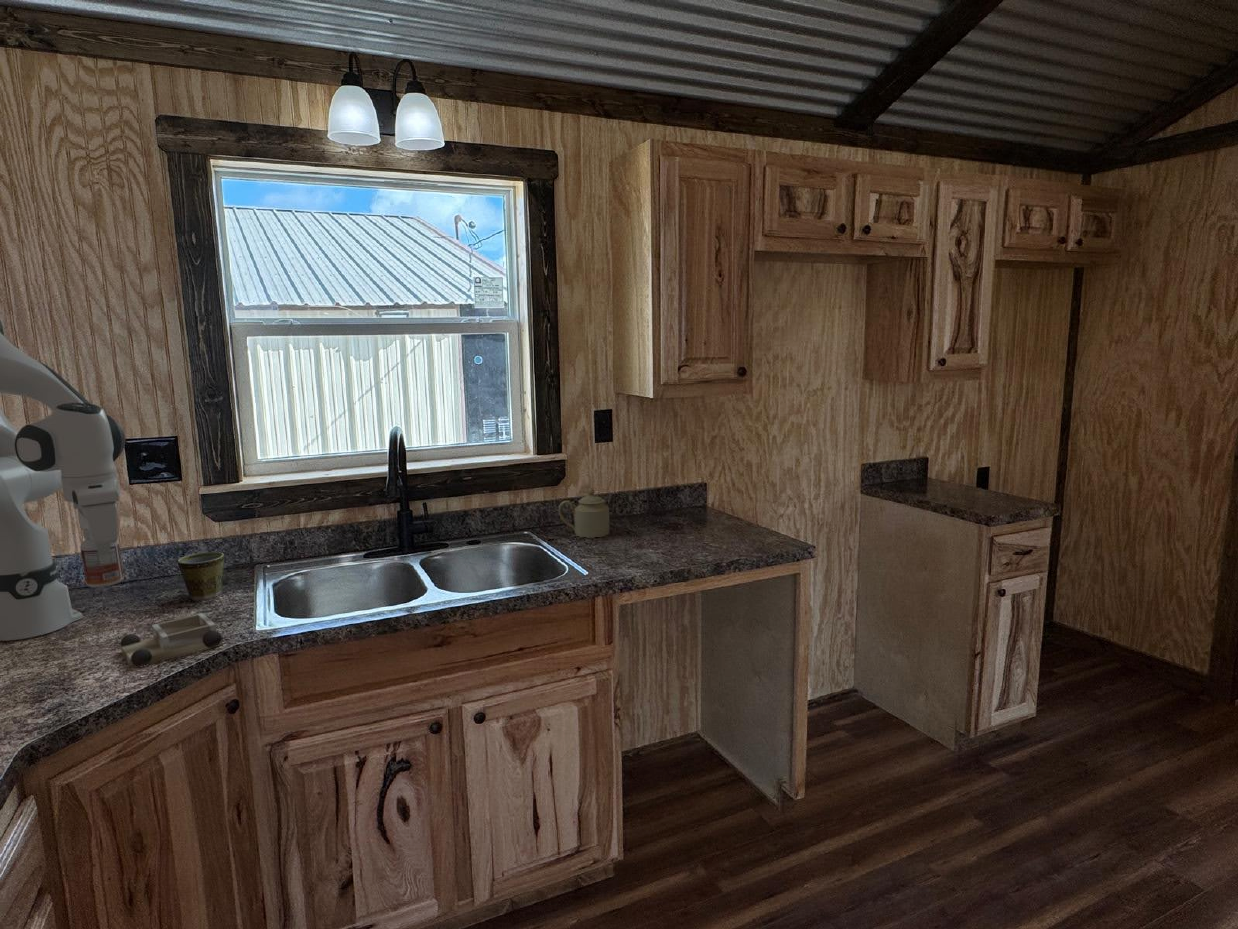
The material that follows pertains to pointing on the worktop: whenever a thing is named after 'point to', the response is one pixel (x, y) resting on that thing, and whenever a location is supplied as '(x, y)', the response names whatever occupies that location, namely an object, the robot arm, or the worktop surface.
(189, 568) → the ceramic cup
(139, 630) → the worktop surface
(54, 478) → the robot arm
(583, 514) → the sugar bowl
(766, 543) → the worktop surface
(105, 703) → the worktop surface
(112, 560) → the pill bottle
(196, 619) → the beige toy truck
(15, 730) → the worktop surface
